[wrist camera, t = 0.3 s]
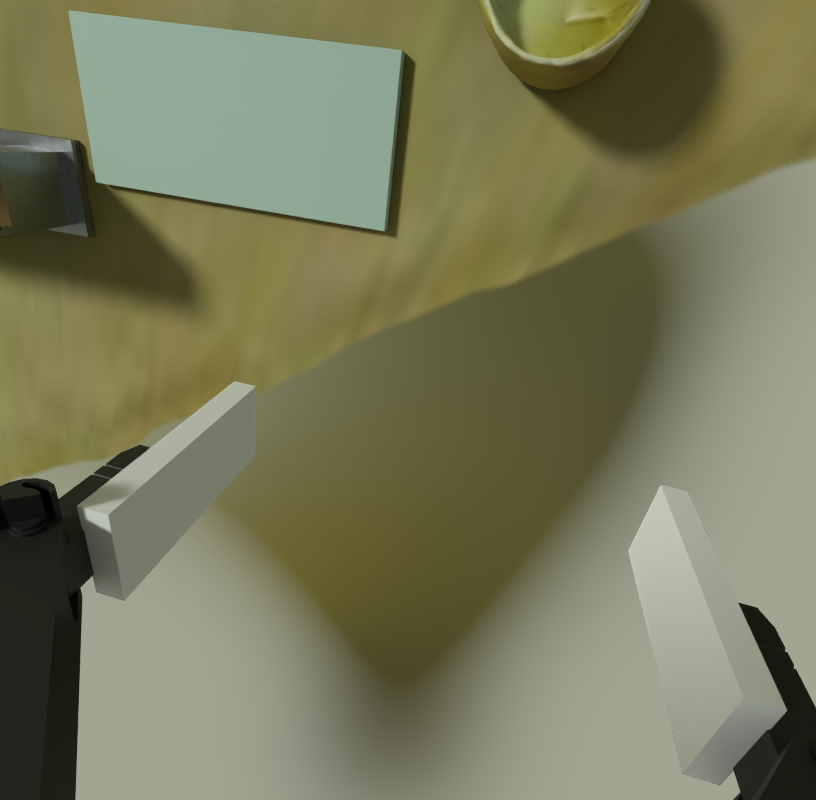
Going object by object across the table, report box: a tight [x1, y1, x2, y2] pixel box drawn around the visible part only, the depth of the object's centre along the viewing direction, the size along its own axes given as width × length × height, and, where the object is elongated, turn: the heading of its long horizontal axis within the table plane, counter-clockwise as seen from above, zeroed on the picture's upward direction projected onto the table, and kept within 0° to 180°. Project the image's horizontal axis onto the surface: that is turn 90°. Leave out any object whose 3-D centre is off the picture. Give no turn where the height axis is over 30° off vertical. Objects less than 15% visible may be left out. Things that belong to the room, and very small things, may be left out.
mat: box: [68, 10, 405, 231], centre depth 39 cm, size 12×26×1 cm, turn 83°
